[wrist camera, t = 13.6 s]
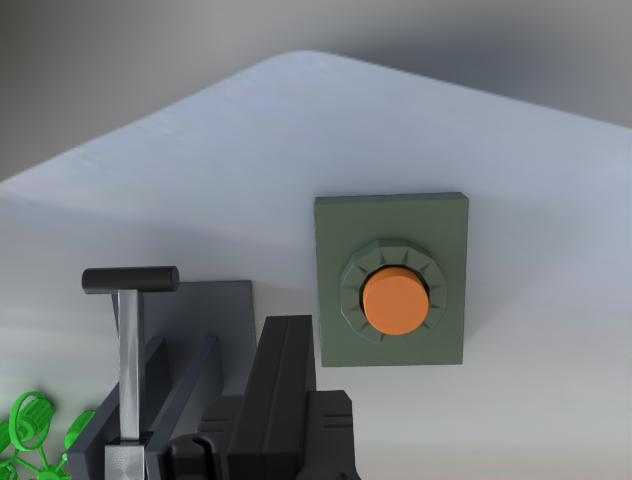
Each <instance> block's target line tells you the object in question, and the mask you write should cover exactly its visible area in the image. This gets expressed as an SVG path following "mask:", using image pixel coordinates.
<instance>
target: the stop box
mask: <svg viewBox="0 0 632 480" xmlns="http://www.w3.org/2000/svg"><path fill="white" fill-rule="evenodd" d="M468 202H469V199H468V198H467V197H466V196H465V195H463V194H462V193H461V192H454V193H426V194H399V195H371V196H343V197H316V198H315V203H314V211H315V233H316V255H317V277H318V298H319V320H320V342H321V364H322V367H356V366H406V365H455V364H462V357H463V331H464V306H465V280H466V254H467V228H468ZM389 267H400V268H404V269H407V270H409V271H411V272H413V273H414V274H415V275H416V276H417V277H418V278H419V279H420V281H421V283H422V285H423V287H424V289H425V291H426V294H427V296H428V301H429V307H428V312H427V315H426V317H425V319H424V321H423V322H422V323H421V324H420V325H419V326H418V327H417V328H416V329H414V330H413V331H411V332H408V333H405V334H401V335H391V334H386V333H383V332H381V331H379V330H377V329H376V328H375V327H374V326H373V325H372V324H371V323H370V322H369V321H368V319H367V317H366V314H365V310H364V302H363V291H364V287H365V285H366V283H367V281H368V280H369V279H370V277H371V276H372V275H374V274H375V273H376V272H378V271H380V270H382V269H385V268H389Z"/></svg>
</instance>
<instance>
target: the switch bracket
mask: <svg viewBox="0 0 632 480" xmlns="http://www.w3.org/2000/svg"><path fill="white" fill-rule="evenodd" d="M111 295H112V301H113V307H114V313H115V319H116V325H117V331H118V338H119V294H111ZM144 317H145V395H146V431H155V432H154V434H153V436H152V438H151V440H150V442H149V443H148V445H147V447H146V449H145V451H144V455H145V461H146V468H147V474H148V480H161V478H160V473H159V467H158V462H157V456H156V454H157V452H158V451H159V450H160V448H161V447H162V446H163V445H164V444H166V443H167V442H169V441H170V440H171V439H174V438H176V437H179V436H181V435H184V434H191V433H196V430H197V427H198V425H199V422H201V417H202V415H203V412H204V410H205V407H206V406H207V405H208V404H209V403H210V402H211V401H212V400H213V399H214V398H215V397H216V396H217V395H244V392H245V389H246V385H247V382H248V378H249V375H250V372H251V368H252V365H253V361H254V358H255V354H256V351H257V348H256V337H255V325H254V313H253V301H252V289H251V281H220V282H184V283H179V287H178V289H177V291H176V292H154V293H144ZM119 434H120V389H119V382H118V383H117V385H116V386H115V387H114V389H113V390H112V391H111V393H110V394H109V395H108V397H107V398H106V399H105V401H104V402H103V403H102V405H101V406H100V407H99V409H98V410H97V411H96V413H95V414H94V415H93V417H92V418H91V419H90V421H89V422H88V423H87V425H86V426H85V427H84V429H83V430H82V431H81V433H80V434H79V435H78V437H77V438H76V439H75V441H74V442H73V443H72V445H71V446H70V447H69V449H68V450H67V451H66V453H65V454H66V458H67V463H68V468H69V473H70V477H71V480H104V446H105V445H106V444H108V443H109V442H110V441H112V440H113V439H114V438H115V437H117V436H118V435H119Z"/></svg>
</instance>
